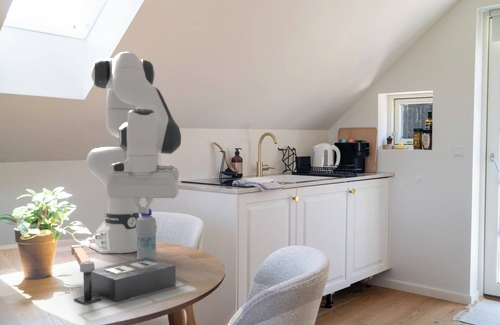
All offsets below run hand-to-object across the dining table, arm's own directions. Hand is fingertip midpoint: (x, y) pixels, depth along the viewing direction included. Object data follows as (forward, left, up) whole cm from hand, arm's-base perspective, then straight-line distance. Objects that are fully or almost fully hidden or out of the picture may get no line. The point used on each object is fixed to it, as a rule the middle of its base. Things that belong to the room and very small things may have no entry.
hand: (143, 213), depth 149 cm
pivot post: (0, -18, -21) cm, 28 cm away
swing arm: (-10, -14, -13) cm, 22 cm away
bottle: (-14, +11, -21) cm, 28 cm away
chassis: (0, -4, -21) cm, 21 cm away
